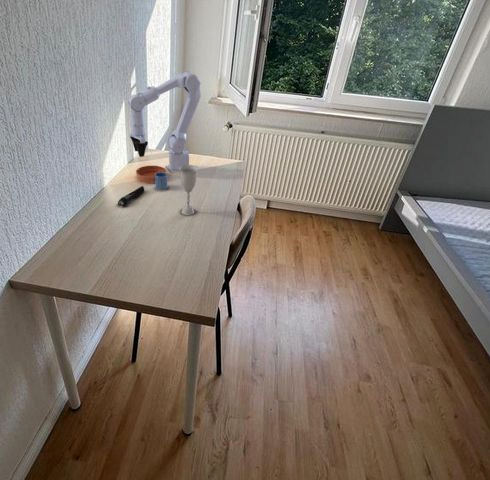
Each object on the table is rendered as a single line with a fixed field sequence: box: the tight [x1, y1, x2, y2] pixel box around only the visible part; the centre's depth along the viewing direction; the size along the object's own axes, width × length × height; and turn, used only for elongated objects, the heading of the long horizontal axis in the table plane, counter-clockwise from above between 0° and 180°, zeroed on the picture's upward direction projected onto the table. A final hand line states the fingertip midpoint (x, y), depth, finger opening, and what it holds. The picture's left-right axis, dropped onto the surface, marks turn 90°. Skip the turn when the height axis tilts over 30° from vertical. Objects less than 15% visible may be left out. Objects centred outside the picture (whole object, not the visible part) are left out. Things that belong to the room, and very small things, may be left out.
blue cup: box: [154, 172, 169, 191], centre depth 152 cm, size 5×5×6 cm
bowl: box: [135, 165, 167, 184], centre depth 162 cm, size 14×14×4 cm
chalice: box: [179, 164, 199, 216], centre depth 132 cm, size 7×7×18 cm
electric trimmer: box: [117, 185, 145, 208], centre depth 143 cm, size 4×16×3 cm, turn 153°
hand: (139, 153), depth 162 cm, fingers open, 7 cm apart
